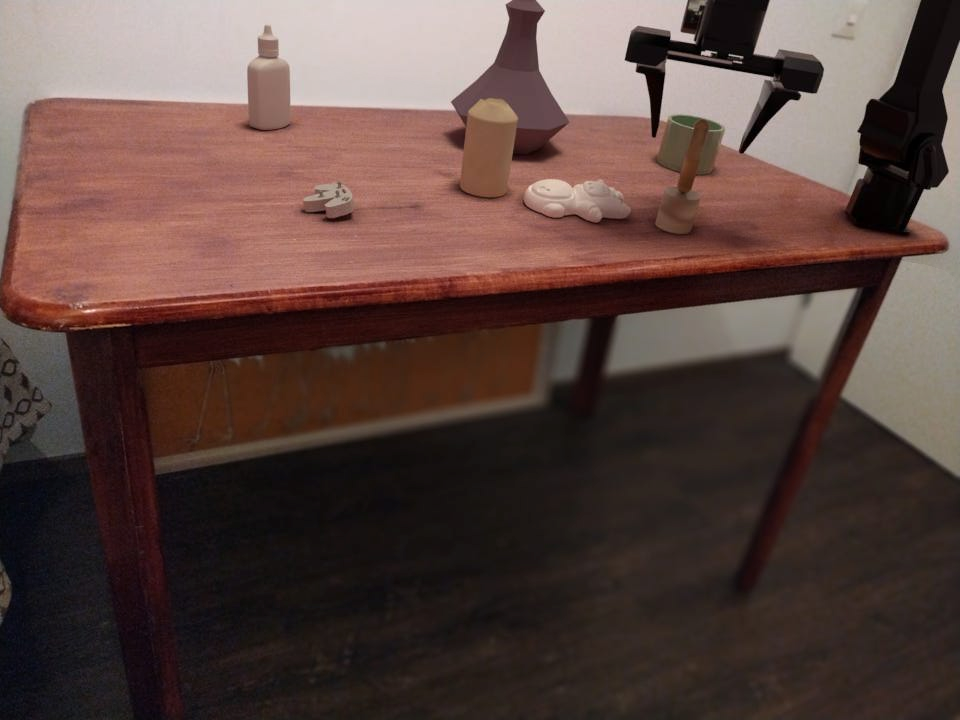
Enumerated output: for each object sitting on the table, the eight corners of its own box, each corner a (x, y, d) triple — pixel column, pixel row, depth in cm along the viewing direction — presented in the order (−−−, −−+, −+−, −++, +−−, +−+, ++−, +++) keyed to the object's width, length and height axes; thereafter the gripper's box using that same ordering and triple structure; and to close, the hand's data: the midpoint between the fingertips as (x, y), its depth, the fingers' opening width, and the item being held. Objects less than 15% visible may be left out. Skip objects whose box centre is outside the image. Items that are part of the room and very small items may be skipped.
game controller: (292, 204, 74) (292, 179, 73) (385, 189, 81) (387, 166, 80) (323, 224, 71) (323, 198, 69) (417, 207, 78) (419, 183, 77)
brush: (690, 224, 84) (721, 118, 78) (691, 236, 81) (724, 127, 74) (655, 217, 85) (684, 111, 78) (655, 229, 81) (685, 120, 75)
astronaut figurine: (632, 228, 81) (638, 202, 79) (523, 214, 80) (528, 187, 78) (621, 200, 88) (627, 176, 86) (522, 187, 87) (526, 162, 86)
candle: (502, 201, 82) (515, 111, 77) (454, 192, 83) (464, 101, 78) (510, 186, 87) (523, 100, 82) (465, 177, 88) (475, 91, 82)
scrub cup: (710, 162, 107) (722, 121, 104) (713, 178, 101) (727, 134, 97) (657, 152, 108) (667, 111, 105) (656, 167, 101) (668, 123, 98)
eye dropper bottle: (243, 121, 95) (239, 20, 89) (286, 120, 98) (285, 22, 91) (252, 131, 92) (248, 28, 86) (296, 130, 95) (296, 30, 88)
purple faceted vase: (559, 171, 95) (592, 0, 84) (435, 149, 96) (451, -23, 85) (567, 138, 108) (595, -13, 98) (458, 119, 109) (474, -32, 99)
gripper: (828, -11, 75) (776, 141, 84) (646, -39, 77) (613, 112, 86) (852, -1, 66) (790, 169, 74) (644, -33, 68) (607, 135, 76)
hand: (696, 144), depth 78 cm, fingers open, 9 cm apart
